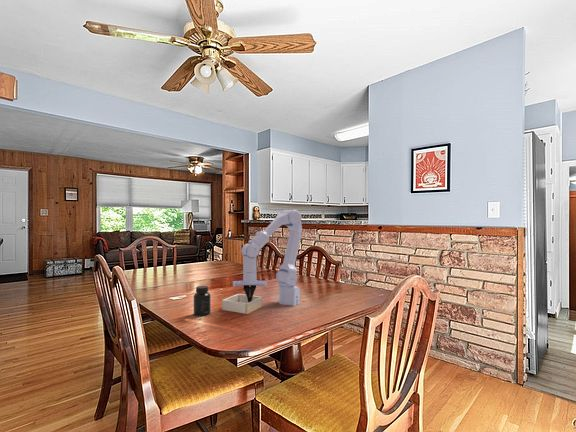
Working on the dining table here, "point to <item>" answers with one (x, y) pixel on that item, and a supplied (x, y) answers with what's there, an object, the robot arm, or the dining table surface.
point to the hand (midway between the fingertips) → (250, 302)
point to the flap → (253, 305)
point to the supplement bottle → (202, 301)
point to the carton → (236, 303)
